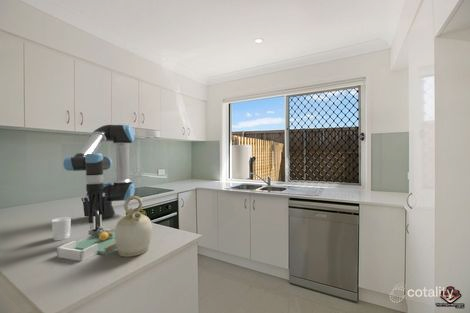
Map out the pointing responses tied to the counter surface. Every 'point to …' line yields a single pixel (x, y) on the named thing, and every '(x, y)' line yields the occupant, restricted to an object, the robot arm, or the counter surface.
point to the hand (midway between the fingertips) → (95, 227)
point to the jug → (133, 231)
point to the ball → (103, 236)
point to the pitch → (103, 246)
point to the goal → (76, 251)
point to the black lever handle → (98, 230)
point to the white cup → (61, 228)
